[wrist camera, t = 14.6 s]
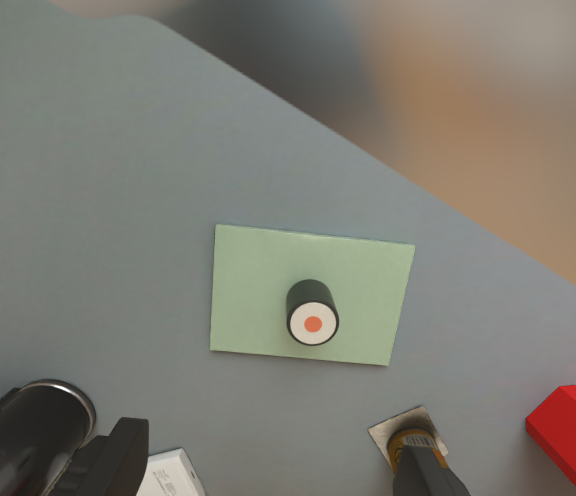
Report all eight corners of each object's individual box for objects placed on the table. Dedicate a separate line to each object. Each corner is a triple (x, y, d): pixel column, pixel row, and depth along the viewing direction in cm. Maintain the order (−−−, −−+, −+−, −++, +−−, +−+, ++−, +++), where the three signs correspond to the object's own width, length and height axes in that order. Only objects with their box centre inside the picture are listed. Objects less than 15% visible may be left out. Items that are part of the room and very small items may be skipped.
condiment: (395, 473, 41) (438, 596, 30) (367, 428, 39) (401, 541, 28) (448, 451, 40) (513, 569, 29) (421, 403, 38) (481, 510, 27)
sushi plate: (211, 344, 36) (209, 350, 35) (217, 223, 32) (215, 225, 31) (385, 360, 37) (388, 366, 36) (412, 243, 33) (415, 246, 32)
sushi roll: (283, 318, 34) (283, 345, 29) (288, 276, 33) (289, 297, 28) (328, 322, 34) (335, 350, 29) (335, 281, 33) (343, 302, 28)
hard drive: (92, 469, 41) (182, 446, 40) (120, 514, 43) (206, 493, 42) (84, 481, 39) (178, 457, 38) (113, 527, 41) (203, 506, 40)
